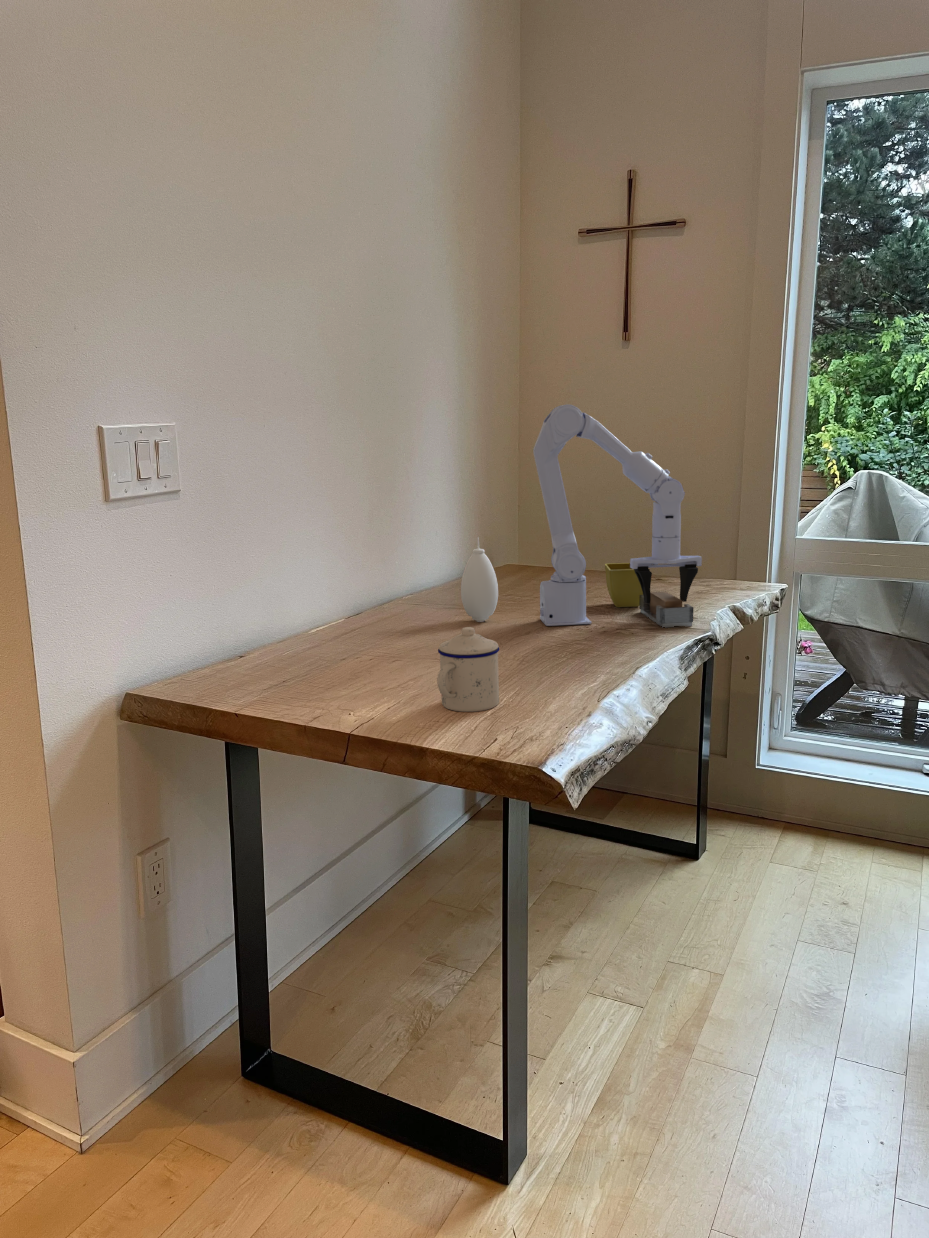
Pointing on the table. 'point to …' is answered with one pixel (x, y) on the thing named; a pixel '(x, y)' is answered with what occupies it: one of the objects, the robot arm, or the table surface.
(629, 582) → the flower pot
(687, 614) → the bracket
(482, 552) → the white rubber air blower
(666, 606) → the block
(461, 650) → the teacup with lid
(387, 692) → the table surface
